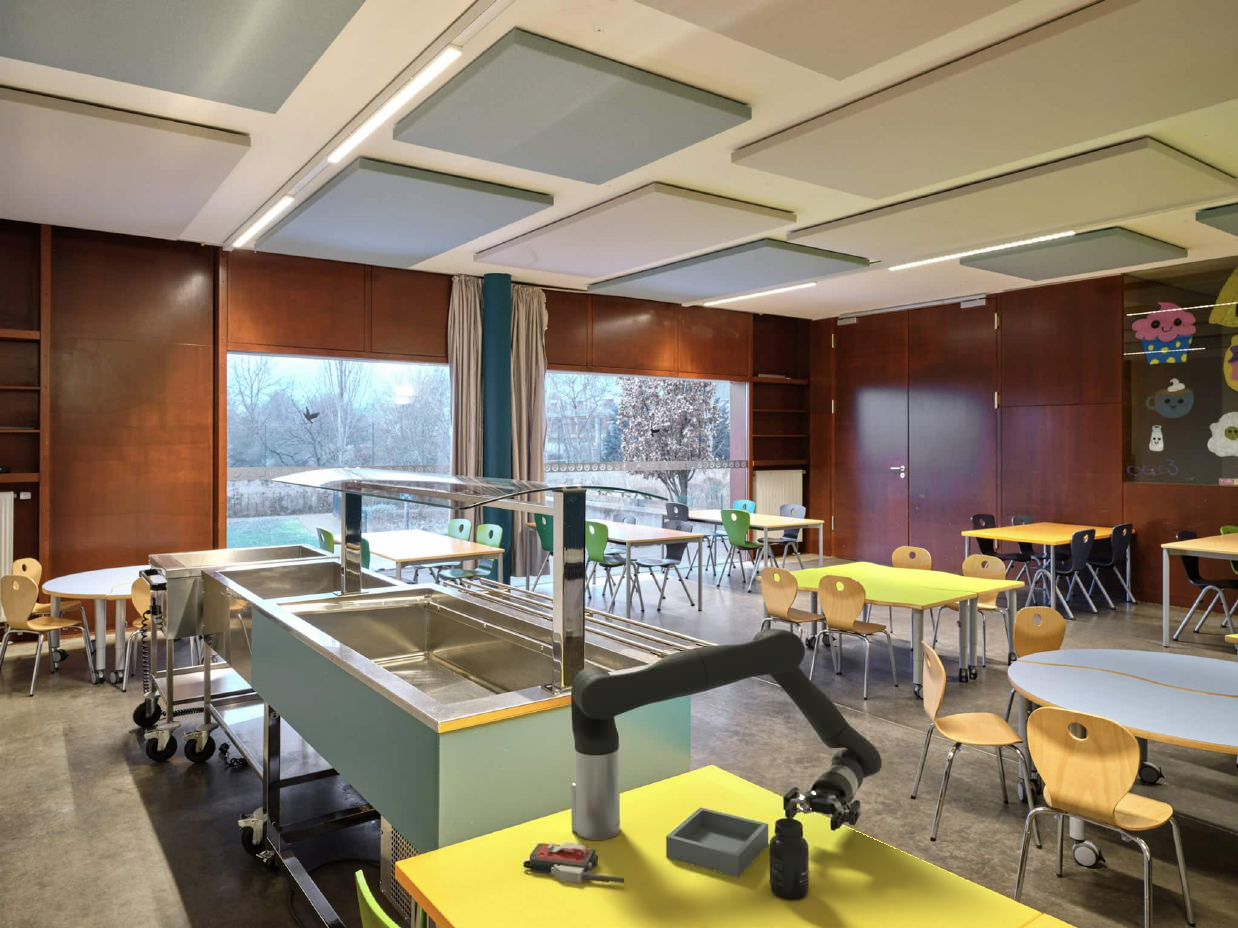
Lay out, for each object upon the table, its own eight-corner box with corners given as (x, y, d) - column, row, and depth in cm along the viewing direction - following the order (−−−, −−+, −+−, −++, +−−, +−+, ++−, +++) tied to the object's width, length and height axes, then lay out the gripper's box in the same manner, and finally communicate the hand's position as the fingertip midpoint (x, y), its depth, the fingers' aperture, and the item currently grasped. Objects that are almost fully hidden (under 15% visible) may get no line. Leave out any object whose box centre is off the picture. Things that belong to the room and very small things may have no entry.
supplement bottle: (813, 901, 137) (812, 832, 137) (773, 901, 137) (772, 832, 137) (804, 880, 144) (803, 814, 144) (766, 880, 144) (766, 815, 144)
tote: (666, 857, 153) (666, 836, 153) (700, 826, 166) (700, 807, 166) (738, 877, 145) (738, 856, 145) (768, 843, 158) (768, 823, 158)
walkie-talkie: (518, 878, 147) (623, 891, 142) (518, 854, 147) (622, 867, 142) (535, 855, 155) (634, 867, 150) (535, 832, 155) (634, 843, 150)
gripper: (801, 764, 168) (773, 793, 154) (869, 777, 160) (847, 808, 146) (802, 800, 168) (774, 831, 154) (870, 814, 160) (848, 849, 147)
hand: (810, 820), depth 150 cm, fingers open, 8 cm apart
